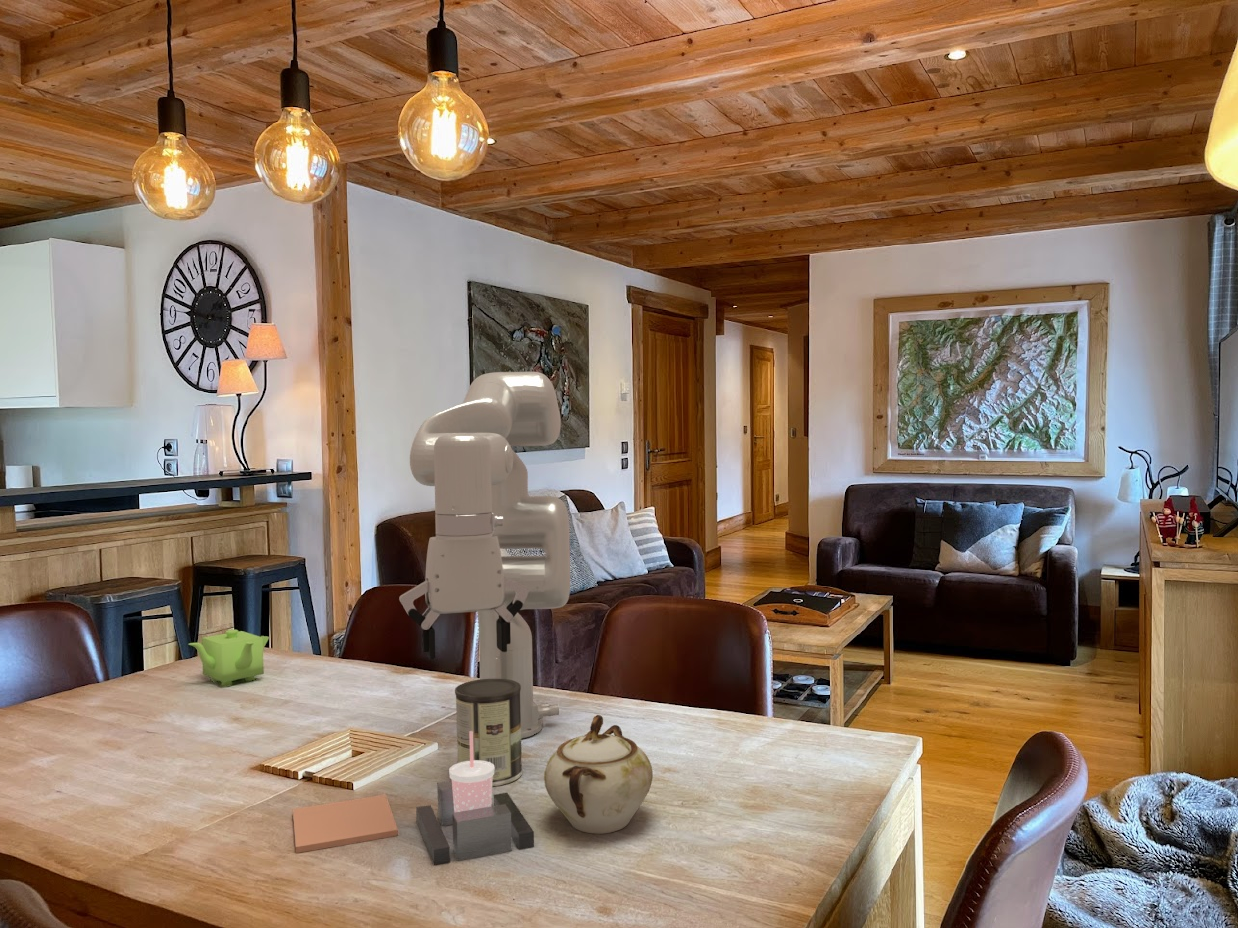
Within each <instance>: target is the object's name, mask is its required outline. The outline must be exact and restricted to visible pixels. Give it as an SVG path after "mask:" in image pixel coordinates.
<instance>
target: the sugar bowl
mask: <svg viewBox="0 0 1238 928" xmlns="http://www.w3.org/2000/svg"><path fill="white" fill-rule="evenodd" d="M603 725H604V717H603V715H600V714H596V715H595V716H594V717H593V718H592V722H591V724H590V730H589V731H588V732H587V733H586V734H584V735H581V736H577V737H574V738H571V739H569V740H568V739H567V741H564V742H563V743H561V744H560V745H559V746H558V748H557V750H556V751H555V752H553V753H552V755H551V757H550V758H549V759H548V762H547V763H546V766H545V770H544V776H543V781H544V786H545V787H544V788H545V789H546V792H547V794H548V796H549V798H550V799H551V801H552V802H553V803H554V805H555V806H556V807H557V809H558V810H559V811H560V812H561V813H562V814H563V815H564V817H565V818H566V819H567V821H568V822H569V823H570V825H571V826H572V827H573V828H574V829H576V830H578V831H580V832H584V833H588V834H597V835H598V834H600V835H601V834H610V833H614V832H617V831H619V830H622V829H624V828H625V827H626V826H627V825H628V824H629V823H630V822H631V820H632V818H633V817H634V815H635V814H636V812H637V811H638V810H639V808H640V807H641V806H642V804H643V802H644V801H645V799H646V797H647V795H648V794H649V792H650V789H651V786H652V783H653V778H654V777H653V767H652V763H651V761H650V758H649V757H648V755H647V754H646V753H645V751H643V749H641V748H640V747H639V746H638V745H637V744H636V742H635V741H633V740H632V739H630V738H628V737H625V736H624V735H623V732H622V729H621V727H620V726H619V725H617V724H614V725H611V726H609V728H608V729H606V730H605V731H604V732H603V733H600V732H601V729H602V726H603ZM613 734H614V735H613Z"/></svg>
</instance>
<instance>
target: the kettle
mask: <svg viewBox="0 0 1238 928" xmlns="http://www.w3.org/2000/svg"><path fill="white" fill-rule="evenodd" d="M269 638H270V636H266V635H265V636H264V635H261V636H259V635H257V634H253V633H250V632H246V631H242V630H240V631H239V630H238V629H228V630H226V631H225V633H223V634H222V633H221V634H216V635H211V636H205V637H203V636H202V638H201V642H190V643H188V644H187V645H189V646H192V647H194V648H195V650H197V653H198V656H199V658H200V660H201V663H202V674H203V675H204V676H207V677H209V678H211V679H210V682H211V681H218V682H221V684H220V687H230V686H232V685H233V681H236V680H241V679H244V680H245V682H253V681H252V680H254V681H256V680H257V678H256V677H255V676H260V675H264V674H265V673H264V671H265V670H264V667H265V666H264V648H265V646H266V644H267V643H268V641H269V640H270V639H269ZM255 679H256V680H255Z"/></svg>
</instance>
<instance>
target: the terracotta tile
mask: <svg viewBox="0 0 1238 928" xmlns="http://www.w3.org/2000/svg"><path fill="white" fill-rule="evenodd" d="M394 817H395V816H394V814H393V812H392V808H391V806H390V802H389V800H388V797H387V794H379V795H374V796H367V797H361V798H356V799H353V798H352V799H347V800H341V801H335V802H334V801H333V802H329V803H322V804H317V805H316V804H315V805H310V806H302V807H298V808H297V807H296V808H293V809H292V820H293V832H294V847H295V853H296V854H298V853H305V852H312V851H317V850H322V849H328V848H329V849H330V848H333V847H339V846H346V845H350V844H351V845H352V844H358V843H363V842H368V841H374V840H380V839H386V838H391V837H397V836H399V828H398V826H397V823H396V819H395V818H394Z"/></svg>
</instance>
